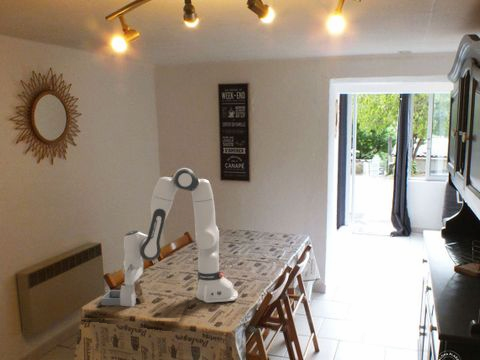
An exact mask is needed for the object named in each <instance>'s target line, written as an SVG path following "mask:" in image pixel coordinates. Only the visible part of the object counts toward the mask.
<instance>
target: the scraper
mask: <svg viewBox="0 0 480 360" xmlns="http://www.w3.org/2000/svg"><path fill="white" fill-rule="evenodd" d="M139 281H140V280H139ZM139 281H136V282H134V286H135V290H134V291H135V296H136V299H137V300H138V301H139V302H140V303H144V302H145V301H146V300H145V297H144V292H143V290H142V287H141V284H140V282H139Z"/></svg>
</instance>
